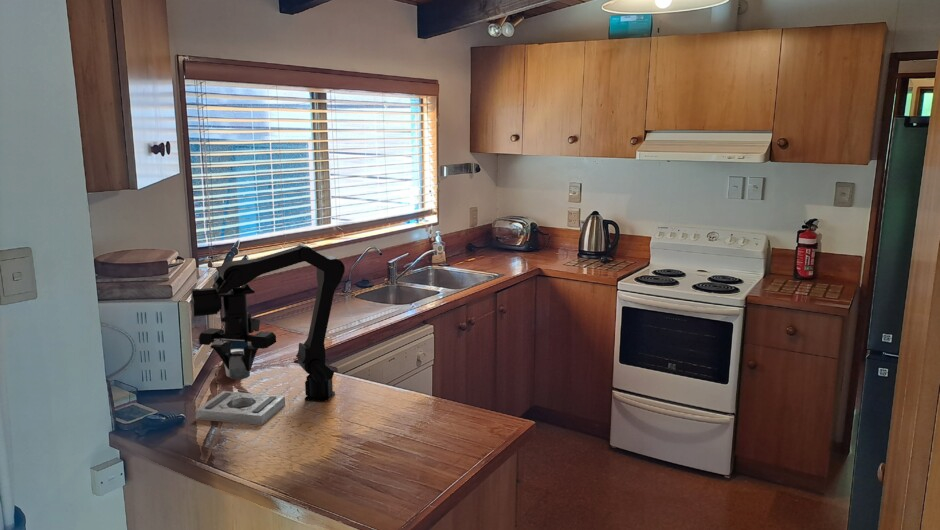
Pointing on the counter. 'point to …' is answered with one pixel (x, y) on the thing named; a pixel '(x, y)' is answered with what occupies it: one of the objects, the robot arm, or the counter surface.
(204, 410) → the jig
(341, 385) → the counter surface
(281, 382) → the counter surface
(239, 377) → the bushing
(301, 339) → the counter surface
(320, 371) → the robot arm
